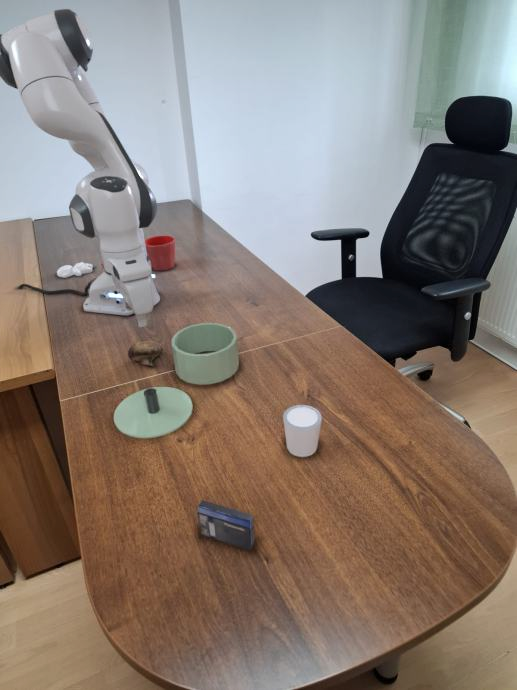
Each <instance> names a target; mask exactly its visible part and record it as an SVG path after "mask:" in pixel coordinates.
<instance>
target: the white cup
mask: <svg viewBox="0 0 517 690" xmlns="http://www.w3.org/2000/svg"><path fill="white" fill-rule="evenodd" d="M282 418H283V419H282V420H283V427H284V434H285V443H286V449H287V451H288V452H289V454H291V455H293V456H295V457H299V458H306V457H309V456H312V455H313V454H315V453H316V452H317V449H318V445H319V439H320V434H321V427H322V421H323V416H322V413H321V412H320V411H319V410H318V409H317V408H316V407H314V406H311V405H306V404H296V405H293V406H290V407H288V408H286V410H285V411H284V413H283V414H282Z"/></svg>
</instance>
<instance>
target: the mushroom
mask: <svg viewBox="0 0 517 690" xmlns="http://www.w3.org/2000/svg"><path fill="white" fill-rule="evenodd" d="M163 351H164V349H163V346H162V345H161V344H160V343H159V342H156V341H153V340H146V341H138V342H136V343H134V344H133V345H132V346H130V347H129V349H128V352H127V357H128V358H129V360H131V361H137V362H139V363H140V365H144V366H149V367H154V363H153V360H154V359H155V358H156V357H158V356H161V354H162V353H163Z"/></svg>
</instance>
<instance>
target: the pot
mask: <svg viewBox="0 0 517 690" xmlns="http://www.w3.org/2000/svg"><path fill="white" fill-rule="evenodd" d="M170 340H171V342H170V343H171V350H172V357H173V363H174V364H173V365H174V369H175V374H176V375H177V377H178V378H179V379H181V380H182V381H183V382H185V383H188V384H193V385H199V386H200V385H212V384H216V383H220V382H223V381H226V380H227V379H229V378H232V376H233V375H234V374H235V373H237V371H238V369H239V366H240V359H239V347H238V344H239V343H238V336H237V333H236V331H235V330H234V329H233V328H232V327H230V326H228V325H225V324H223V323H222V324H221V323H216V322H201V323H196V324H191V325H188V326H186V327H183V328H181V329H180V330H178V331H176V332H175V334H173V336H172V338H171V339H170ZM203 352H208V353H203Z"/></svg>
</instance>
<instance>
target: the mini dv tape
mask: <svg viewBox="0 0 517 690" xmlns="http://www.w3.org/2000/svg"><path fill="white" fill-rule="evenodd" d="M254 516H255V515H254V514H250V513H247V512H245V511H241V510H238V509H234V508H231V507H228V506H224V505H221V504H218V503H214V502H210V501H206V500H204V499H201V501H200V502H199V503H198V506H197V517H198V525H199V531H200V535H202V536H204V537H207V538H210V539H213V540H217V541H220V542H223V543H226V544H228V545H232V546H235V547H238V548H240V549H241V548H242V549H244V550H247V551H253V547H254V546H255V543H256V531H255V530H256V529H255V517H254Z"/></svg>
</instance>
